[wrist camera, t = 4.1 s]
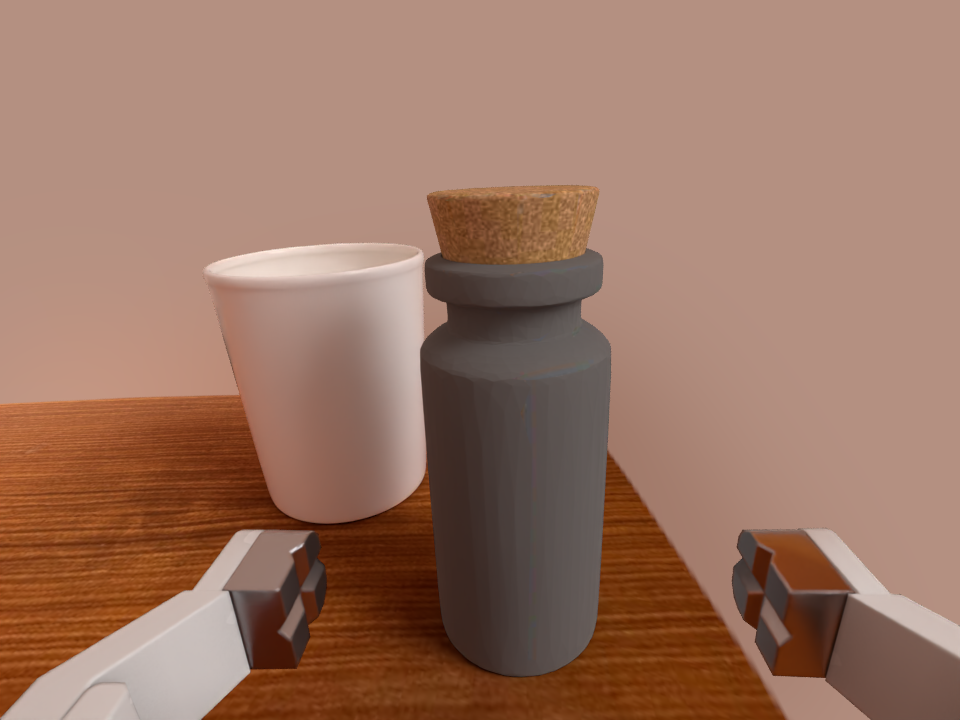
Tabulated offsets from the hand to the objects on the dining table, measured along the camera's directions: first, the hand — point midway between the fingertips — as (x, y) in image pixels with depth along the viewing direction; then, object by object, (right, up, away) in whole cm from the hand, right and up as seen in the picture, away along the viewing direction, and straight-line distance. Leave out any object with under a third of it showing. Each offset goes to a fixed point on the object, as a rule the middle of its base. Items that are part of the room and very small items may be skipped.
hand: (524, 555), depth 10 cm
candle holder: (-8, -3, +18) cm, 20 cm away
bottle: (+1, -6, +9) cm, 11 cm away
